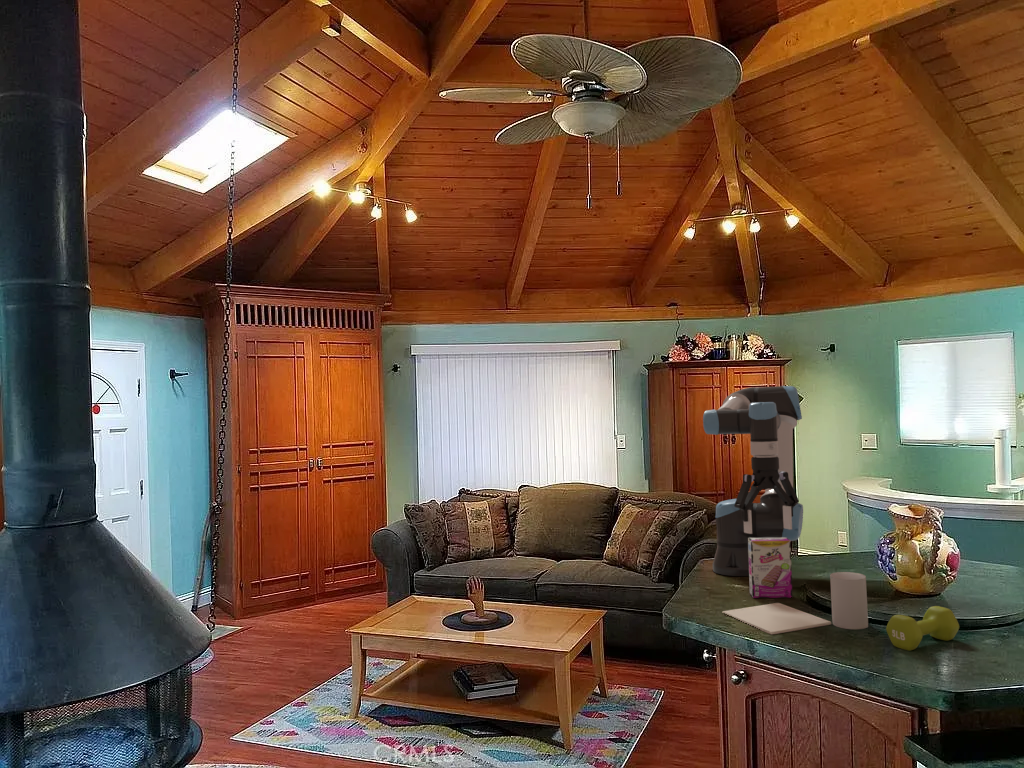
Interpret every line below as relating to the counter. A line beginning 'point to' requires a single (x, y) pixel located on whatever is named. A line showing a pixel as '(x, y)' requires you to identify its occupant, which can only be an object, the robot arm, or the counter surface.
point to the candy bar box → (770, 567)
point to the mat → (776, 618)
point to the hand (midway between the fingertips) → (768, 531)
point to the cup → (849, 600)
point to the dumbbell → (922, 627)
